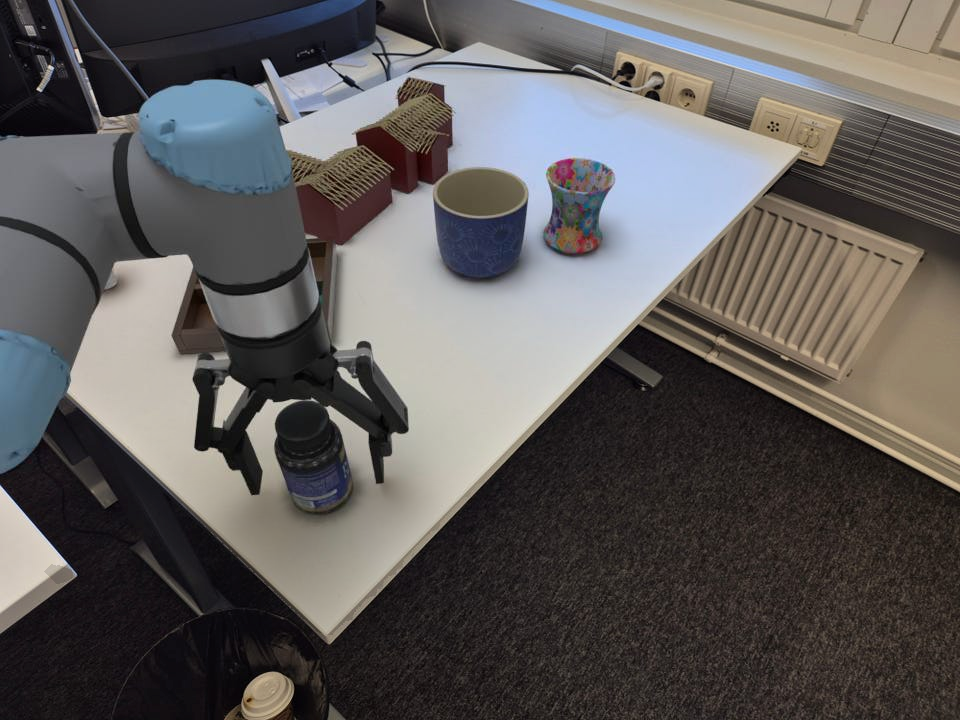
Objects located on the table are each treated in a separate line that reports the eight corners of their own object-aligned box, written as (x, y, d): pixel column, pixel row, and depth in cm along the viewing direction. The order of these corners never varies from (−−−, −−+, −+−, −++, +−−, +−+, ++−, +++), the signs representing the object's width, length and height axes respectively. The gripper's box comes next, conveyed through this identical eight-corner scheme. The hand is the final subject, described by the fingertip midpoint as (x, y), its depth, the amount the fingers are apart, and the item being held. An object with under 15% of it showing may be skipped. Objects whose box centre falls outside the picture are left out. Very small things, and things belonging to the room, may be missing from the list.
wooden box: (179, 354, 77) (171, 335, 75) (206, 263, 89) (199, 244, 87) (331, 343, 79) (327, 324, 76) (337, 255, 91) (334, 236, 89)
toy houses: (357, 251, 92) (347, 188, 84) (247, 211, 98) (229, 150, 91) (501, 125, 119) (503, 69, 112) (408, 100, 126) (404, 47, 119)
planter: (506, 227, 96) (509, 160, 88) (537, 276, 88) (543, 207, 80) (426, 242, 93) (421, 174, 86) (450, 294, 85) (448, 225, 77)
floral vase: (575, 267, 90) (585, 201, 82) (527, 239, 94) (532, 173, 87) (627, 233, 95) (641, 168, 88) (579, 208, 100) (588, 144, 92)
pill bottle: (364, 497, 64) (349, 427, 56) (306, 528, 61) (282, 460, 53) (337, 454, 67) (319, 383, 59) (281, 482, 65) (255, 412, 57)
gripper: (426, 266, 50) (436, 436, 66) (114, 285, 48) (201, 457, 64) (432, 331, 45) (442, 499, 61) (83, 356, 43) (186, 523, 59)
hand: (319, 477), depth 63 cm, fingers open, 11 cm apart
